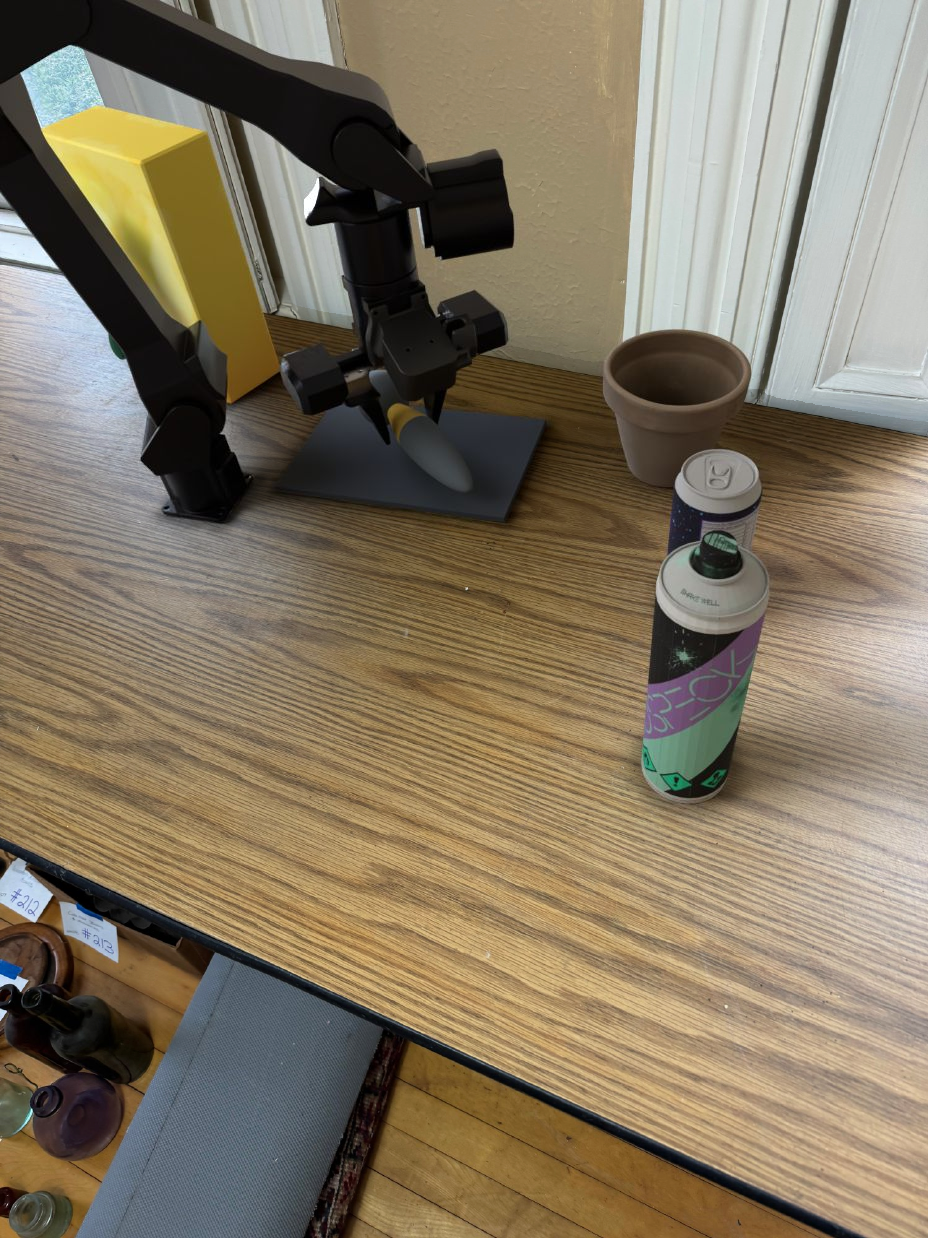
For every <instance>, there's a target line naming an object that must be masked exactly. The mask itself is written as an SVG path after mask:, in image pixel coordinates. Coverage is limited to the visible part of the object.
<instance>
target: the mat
mask: <svg viewBox="0 0 928 1238" xmlns="http://www.w3.org/2000/svg"><path fill="white" fill-rule="evenodd" d="M409 407H410V408H412V409H415V410H417V411H419V412H421V413H423V414H424V415H426V416H427V414H426V410H425V406H416V405H409ZM547 423H548V422H547V419H544V418H537V417H535V418H534V417H525V416H516V415H506V414H498V413H497V414H496V413H495V414H494V413H487V412H476V411H466V410H457V409H449V408H442V411H441V415H440V418H439V422H438V426H439V427H440V428H441V429H442V430H443V431H444V433H445V434H446V435H447V436H448V438H449V439H450V440H451V441H452V443H453V444H454V446H455V447H456V448H457V450H458V451H459V453H460V454H461V456H462V458H463V459H464V461H465V463H466V465H467V467H468V468H469V471H470V473H471V476H472V479H473V489H472V491H471V492H469V493H462V492H458V491H455V490H453V489H451V488H449V487H447V486H445V485H444V484H442V483H441V482H439V481H438V480H436V479H435V478H433V477H432V476H431V475H429V474H428V473H427V472H426V471H424V470H423V469H422V468H421V467H420V466H419V465H418V464H416V463H415V462H414V461H413V460H412V459H411V458H410V457H409V456H408V454H407V453H406V452H405V451H404V450H403V449H402V447H401V446H400V444H399V442H398V440H397V438H396V436H395V434H394V431H393V429H392V427H391V425H387V426H388V429H389V433H390V440H391V444H390V445H386V444H385V442H384V441H383V440H382V438H381V437H380V435H379V433H378V432H377V430H376V429H375V427H374V426H373V424H372V423H370V422H369V421H367V420H366V419H365V418H364V417H363V416H362V414H361V413H360V411H359V409H358V407H357V406H356V407H353V408H350V407H347V406H345V404H344V403H343V404H342V405H340V406H338V407H335V408H332V409H329V410H327V411H325V412H324V415H323V416H322V418H321V419H320V420H319V422H318V423H317V425H316V426H315V428H314V429H313V430H312V432H311V433H310V435H309V436H308V437H307V439H306V440H305V442H304V444H303V445H302V446H301V448H300V449H299V450H298V452H297V454H296V455H295V457H294V458H293V459H292V460H291V462H290V464H289V465H288V467H286V470H285V471H284V472H283V474H282V475H281V476H280V478H279V480H278V481H277V482H276V483H275V485H274V488H275V490H276V492H281V493H288V494H295V495H303V496H308V497H309V496H310V497H317V498H323V499H324V498H325V499H332V500H339V501H345V502H354V503H360V504H365V505H375V506H382V507H389V508H397V509H404V510H410V511H418V512H425V513H431V514H439V515H444V516H445V515H446V516H453V517H460V518H467V519H474V520H481V521H487V522H488V521H489V522H495V523H503V524H505V523H506V521H507V519H508V516H509V515H510V512H511V509H512V507H513V504H514V502H515V500H516V497H517V495H518V493H519V490H520V488H521V486H522V484H523V481H524V479H525V476H526V474H527V472H528V469H529V467H530V465H531V463H532V461H533V458H534V456H535V453H536V451H537V448H538V446H539V444H540V441H541V438H542V437H543V434H544V432H545V429H546V427H547Z"/></svg>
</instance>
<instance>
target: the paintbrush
mask: <svg viewBox="0 0 928 1238" xmlns="http://www.w3.org/2000/svg"><path fill="white" fill-rule="evenodd" d="M369 378H370V382H371V383H372V384H373V385H374V387H375V388H376V389H377V390H378V392H379V393H380V394H381V398H380V404H381V408H382V411H383V414H384V417H385V420H386V423H387V425H391V427H392V429H393V431H394V434H395V436H396V438H397V440H398V442H399V444H400V446H401V447H402V449H403V450H404V451H405V452H406V453H407V454H408V456H409V457H410V458H411V459H412V460H413V461H414V462H415V463H416V464H418V465H419V466H420V467H421V468H422V469H423V470H424V471H426V472H427V473H428V474H429V475H431V476H432V477H433V478H435V479H436V480H438V481H439V482H441V483H442V484H444V485H445V486H447V487H449V488H451V489H453V490H455V491H458V492H462V493H469V492H471V491H472V489H473V479H472V476H471V473H470V471H469V468H468V467H467V465H466V463H465V461H464V459H463V458H462V456H461V454H460V453H459V451H458V450H457V448H456V447H455V446H454V444H453V443H452V441H451V440H450V439H449V438H448V436H447V435H446V434H445V433H444V431H443V430H442V429H441V428H440V427H439V426H438V425H437V424H436V423H435V422H434V421H433V420H432V419H431V418H429V417H428V416H426V415H424V414H423V413H421V412H419V411H417V410H415V409H412V408H410V407H409V406H410V403H411V402H410V401H406V400H404V399H402V398H401V396H400V395H399V393H398V391H397V388H396V387H395V385H394V383H393V381H392V380H391V378H390V376H389V374H388V373H387V371H386V369H376V370H373V371H371V372H370V373H369ZM357 407H358V409H359V411H360V413H361V414H362V416H363V417H364V418H365V419H366V420H367V421H369V422H370V423H371V421H370V420H369V418H368V416H367V415H366V413H365V412H364V410H363V409H362V408H361V407H360V406H357Z"/></svg>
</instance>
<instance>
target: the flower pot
mask: <svg viewBox="0 0 928 1238" xmlns="http://www.w3.org/2000/svg"><path fill="white" fill-rule="evenodd" d="M602 376H603V377H602V393H603V398H604V400H605V403H606V404H607V406H608V407H609V408H610V410H612V412H613V413H614V415H615V419H616V424H617V429H618V434H619V438H620V442H621V447H622V450H623V454H624V457H625V460H626V464H627V467H628V469H629V471H630V472H631V474H632V475H633V476H634V477H635V478H636V479H637V480H639V481H640V482H642V483H644V484H647V485H648V486H653V487H658V488H674V482H675V479H676V477H677V476H678V474H679V473H680V472H681V469H682V466H683V464H684V463H685V461H686V460H687V459H688V458H689V457H691V456H693V455H694V454H696V453H699V452H702V451H706V450H712V449H716V446H717V443H718V441H719V439H720V437H721V434H722V433H723V430H724V427H725V425H726V423H727V422H728V421H730V420H731V419H733V417H735V416H736V415H737V414H738V413H739V411H740V410H741V409H742V407H743V406H744V404H745V401H746V398H747V395H748V391H749V386H750V382H751V379H752V367H751V364H750V360H749V359H748V357H747V356H746V354H745V353H744V352H743V351H742V350H741V349H740V348H739V347H738V346H737V345H735V344H734V343H732V342H730V341H728V340H727V339H724V338H723V337H720V336H717V335H715V334H711V333H708V332H705V331H699V330H692V329H684V328H683V329H681V328H679V329H677V328H676V329H675V328H671V329H669V328H668V329H659V330H652V331H648V332H643V333H639V334H637V335H634V336H632V337H629V338H627V339H625V340H624V341H622V342H620V343H619V344H616V346H615V347H614V348H612V349H611V350H610V352H609V353H608V355H607V356H606V358H605V359H604V362H603V368H602Z"/></svg>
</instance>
